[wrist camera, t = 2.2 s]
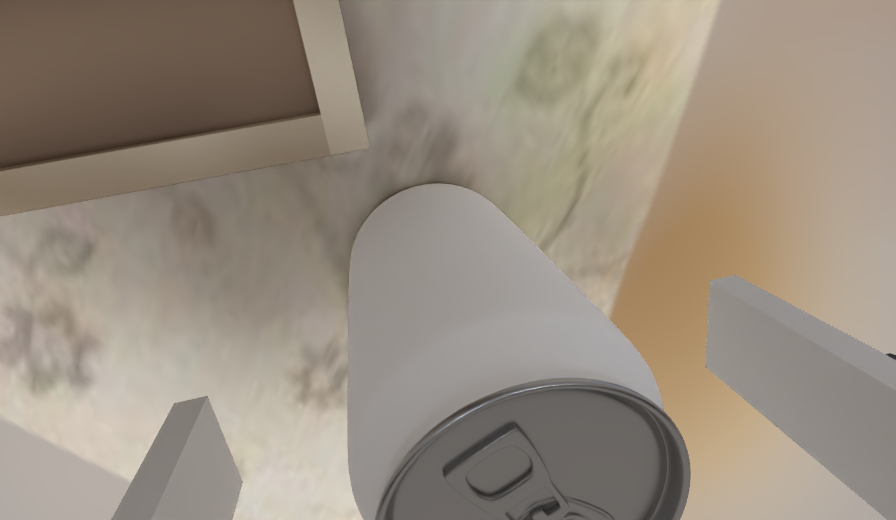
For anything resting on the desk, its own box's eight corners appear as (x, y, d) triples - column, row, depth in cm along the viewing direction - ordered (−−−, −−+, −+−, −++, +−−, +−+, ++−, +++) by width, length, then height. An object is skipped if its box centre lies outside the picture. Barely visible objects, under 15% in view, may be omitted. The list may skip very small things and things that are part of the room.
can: (415, 362, 21) (485, 692, 10) (312, 249, 18) (255, 526, 7) (542, 273, 21) (762, 517, 10) (455, 144, 18) (618, 274, 7)
